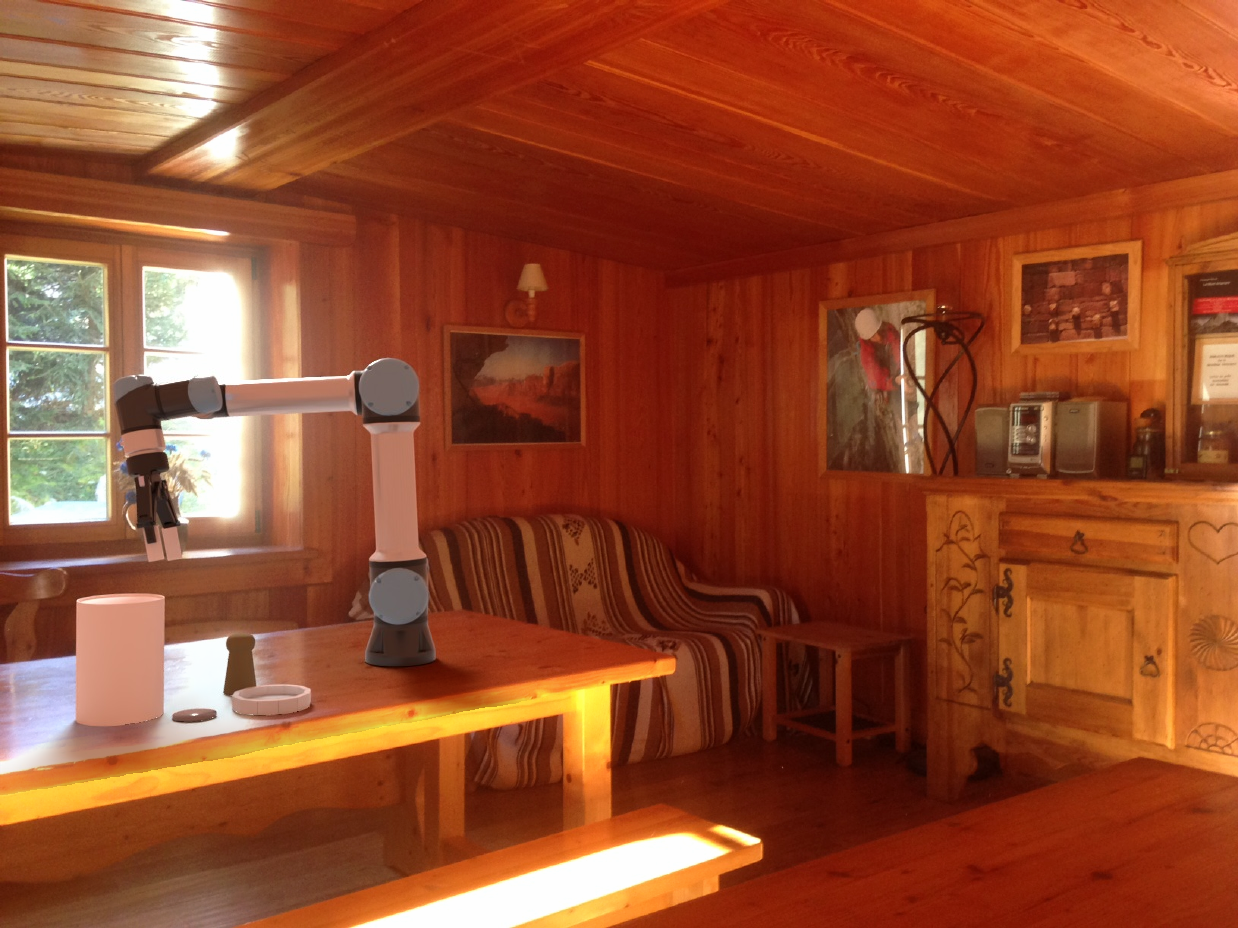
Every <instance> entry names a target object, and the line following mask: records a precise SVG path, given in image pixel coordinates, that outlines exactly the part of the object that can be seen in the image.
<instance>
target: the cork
mask: <svg viewBox="0 0 1238 928" xmlns="http://www.w3.org/2000/svg"><path fill="white" fill-rule="evenodd" d="M255 645H256V638H255V636H254V635H253V634H251V633H248V632H237V633H233V634H230V635H229V636H228V637H227V639H226V641H225V646H226V650H227V651H228V657H227V665H226V670H225V677H224V678H225V679H224V685H223V692H222V693H224V695H225V694H226V696H232V695H233V694H234V692H235V691H239V690H242V689H245V688H248V687H255V686H257V680H256V679H257V677H256V672H255V671H256V670H255V663H254V662H255V661H254V655H253V650H254V649H255Z"/></svg>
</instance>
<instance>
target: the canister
mask: <svg viewBox="0 0 1238 928" xmlns="http://www.w3.org/2000/svg"><path fill="white" fill-rule="evenodd" d="M165 597H166V596H164V595H162V594H156V593H154V594H153V593H113V594H111V593H110V594H102V595H101V594H100V595H91V596H87V597H86V596H85V597H81V598H78V599H77V600H76V618H75V619H76V621H75V622H76V623H75V625H76V626H75V627H76V629H75V631H76V633H75V634H76V635H75V637H76V638H75V642H76V643H75V722H76V723H78V724H80V725H82V726H83V725H84V726H89V727H116V726H117V727H119V726H125V724H129V725H131V724H130V723H135V724H140V723H139V722H141V723H144V722H143V721H145V722H147V721H146V720H149V721H152V720H151V719H153V720H155V719H154V718H156V717H158V718H160V717H162V716H163V715H164V712H165V711H164V710H165V709H164V706H165V698H164V697H165V682H164V681H165V615H166V614H165V613H166V611H165V607H166V605H165V604H166V603H165V599H166V598H165ZM162 714H163V715H162ZM161 715H162V716H161ZM156 719H157V718H156Z"/></svg>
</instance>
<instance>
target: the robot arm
mask: <svg viewBox="0 0 1238 928" xmlns="http://www.w3.org/2000/svg"><path fill="white" fill-rule="evenodd" d="M414 369H415V368H413V367H412V366H411V365H410V364H408V363H407V362H406V361H404V360H402V359H398V358H396V357H395V358H393V357H392V358H390V357H386V358H380V359H378V360H375V361H373V362H371V363H370V364H368V366H367V367H366V368H365V369H364V370H352V372H350V374H349V375H344V376H343V375H342V376H341V375H340V376H321V377H320V376H319V377H299V378H274V379H257V380H255V379H254V380H238V381H237V380H235V381H234V380H232V381H218V379H217V378H216V377H215V375H212V374H206V375H205V374H204V375H194V376H192V377H187V378H181V379H176V380H170V381H165V382H157V383H156V382H154V380H153V378H152V376H150V375H147V374H136V375H128V376H123V377H120V378H118V379H117V378H116V380H115V381H114V382H113V384H112V391H113V399H114V402H113V404H114V407H115V411H116V417H117V421H118V425H119V430H120V436H121V440H122V441H120V442H119V445H120V447H123V453H124V456H127V458H126V459H125V463H126V469H127V474H128V476H129V477H132V478H134V484H135V498H136V499H135V501H136V502H135V503H136V523H135V524H136V529H138V530H139V529H142V535H143V540H144V544H145V549H146V555H147V560H148V563H152V562H157V561H160V560H161V561H162V560H165V555H164V549H165V554H166V559H167V561H168V562H170V561H175V560H179V559H183V555H182V549H181V545H180V544H181V543H180V539H179V534H178V528H177V527H180V526H181V521H179V519H178V517H177V512H176V510H175V507H174V504H173V501H172V500H173V499H172V498H171V497H172V496H171V494H170V491H169V486H168V481H167V479H166V478H163V479H162V477H161V473H166V472H168V471H169V470H170V463H169V458H168V454H167V453H166V452H165V451H166V449H167V447H166V442H165V437H164V431H163V427H162V421H170V420H176V419H181V418H188V417H193V418H197V419H200V420H212V419H214V418H229V417H232V418H233V417H251V416H271V415H273V416H274V415H288V414H289V415H290V414H291V415H292V414H293V415H294V414H312V413H328V412H329V413H330V412H331V413H332V412H336V413H337V412H351V413H353V414H354V415H355V416H362V427H363V428H364V429H365V430H367V432H369V434H370V444H371V445H370V446H371V464H372V467H371V468H372V489H373V490H372V491H373V508H374V510H373V511H374V528H375V529H374V530H375V532H374V533H375V552H374V553H373V554H371V556H370V557H369V558H368V563H369V564H368V566H369V587H370V588H369V591H368V602H369V606H370V607H371V610H372V612H373V627H372V630H371V632H370V633H371V634H370V636H369V639H368V642H367V645H366V648H365V652H364V655H365V656H364V662H366V663H367V664H368V665H373V666H382V667H410V666H411V667H412V666H413V667H414V666H420V665H425V664H429V663H432V662H434V661H436V655H437V653H436V652H437V651H436V650H437V649H436V646H435V642H434V640H433V637H432V633H431V631H430V627H429V619H428V618H429V601H430V591H429V590H430V589H429V571H430V565H429V559H428V558H427V554H426V553H425V552H424V551H423V550H421V548H420V547H419V530H418V529H419V524H418V508H417V507H418V504H417V482H416V461H415V459H416V458H415V442H414V441H415V440H414V439H415V438H414V433H415V431H416V430H417V428H418V427H419V426H420V425H421V405H420V380H419V377H418V374H417V372H416V370H414ZM157 516H158V519H159V522H160V524H161V526H162V528H161V532H160V529H159V528H160V527H159V525H157ZM161 534H162V538H163V539H162V538H161ZM162 540H163V543H164V549H163V544H162Z"/></svg>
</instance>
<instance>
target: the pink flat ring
mask: <svg viewBox="0 0 1238 928" xmlns="http://www.w3.org/2000/svg"><path fill="white" fill-rule="evenodd" d="M311 691H312V689H311V688H309V687H307V686H304V685H299V684H298V685H297V684H284V683H283V684H282V683H281V684H264V685H262V684H261V685H256V686H255V687H248V688H245V689H242V690H239V691H235V692H234V694H233V695H231V710H234V711H237V712H238V713H237V712H236V713H237V714H239V713H241V714H240V715H244V714H253V715H252V716H254V715H266V716H270V715H269V714H273V715H272V716H275V715H274V714H282V715H287V714H292V713H293V712H294V713H298V712H297V711H299V712H301V711H303V710H306V709H309V708H310V706H311V702H312V701H311V699H312V698H311V697H312V692H311ZM308 707H309V708H308ZM234 711H233V712H234Z"/></svg>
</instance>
